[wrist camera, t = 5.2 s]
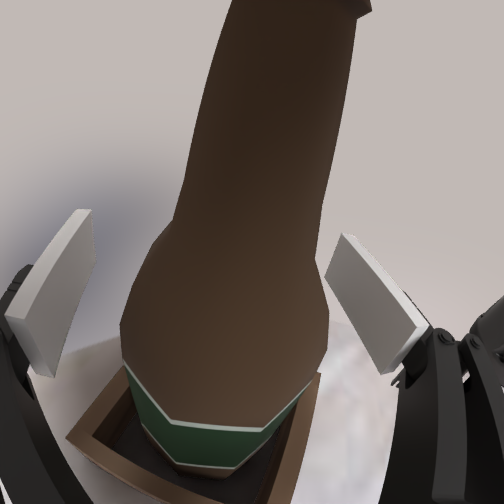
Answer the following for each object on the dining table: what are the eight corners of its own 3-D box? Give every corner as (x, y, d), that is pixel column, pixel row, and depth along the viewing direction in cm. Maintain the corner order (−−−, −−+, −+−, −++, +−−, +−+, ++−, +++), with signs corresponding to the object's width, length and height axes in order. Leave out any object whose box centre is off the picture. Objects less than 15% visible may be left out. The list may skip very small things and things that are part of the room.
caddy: (302, 399, 20) (321, 373, 18) (260, 536, 10) (278, 537, 8) (166, 346, 22) (165, 314, 20) (85, 456, 12) (65, 437, 10)
